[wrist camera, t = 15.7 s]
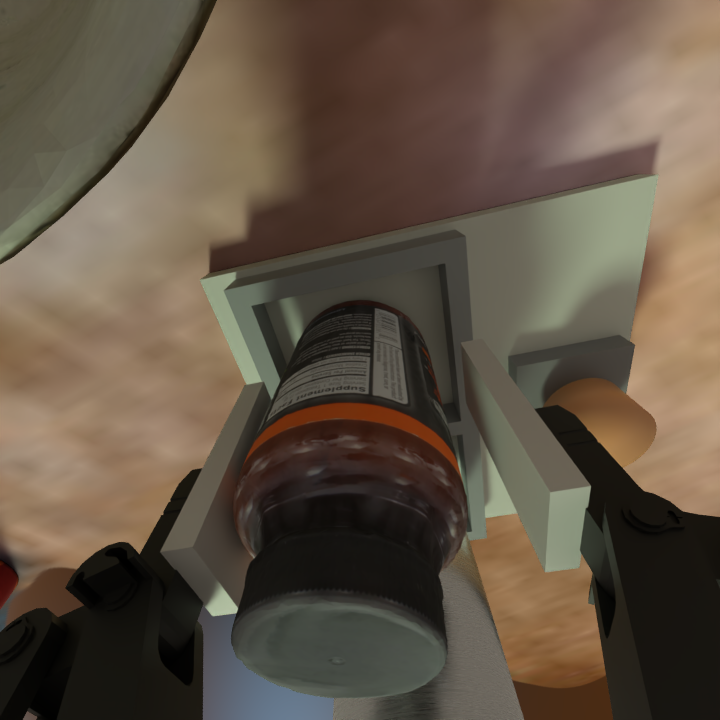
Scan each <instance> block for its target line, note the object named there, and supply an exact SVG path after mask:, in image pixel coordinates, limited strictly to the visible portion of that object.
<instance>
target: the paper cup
mask: <svg viewBox="0 0 720 720" xmlns="http://www.w3.org/2000/svg"><path fill="white" fill-rule="evenodd" d="M17 584H18V576H17V574H16V573H15V571H14V570H13V569H12V568H11V567H10V566H8V565H7V564H6V563H4V562H3V561H1V560H0V609H1V608H2V606H3V605H4V603H5V602H6V601H7V599H8V598H9V596H10V595H11V593H12V592H13V590H14V589H15V587H16V586H17Z"/></svg>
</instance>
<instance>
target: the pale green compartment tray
mask: <svg viewBox="0 0 720 720" xmlns="http://www.w3.org/2000/svg"><path fill="white" fill-rule="evenodd" d="M657 180H658V175H657V174H637V175H633V176H629V177H624V178H620V179H616V180H611V181H607V182H603V183H598V184H594V185H590V186H585V187H581V188H577V189H572V190H568V191H564V192H559V193H555V194H551V195H546V196H542V197H538V198H533V199H529V200H525V201H520V202H516V203H512V204H507V205H503V206H499V207H494V208H490V209H486V210H481V211H477V212H473V213H468V214H464V215H460V216H455V217H451V218H447V219H442V220H438V221H434V222H429V223H425V224H421V225H416V226H412V227H408V228H404V229H399V230H395V231H391V232H386V233H382V234H378V235H373V236H369V237H365V238H360V239H356V240H352V241H347V242H343V243H339V244H334V245H330V246H326V247H321V248H317V249H313V250H308V251H304V252H300V253H295V254H291V255H287V256H282V257H278V258H274V259H269V260H265V261H261V262H256V263H252V264H248V265H243V266H239V267H235V268H230V269H226V270H222V271H217V272H213V273H209V274H207V275H206V276H205V277H203V278H202V279H200V282H201V284H202V286H203V288H204V291H205V293H206V295H207V297H208V299H209V302H210V304H211V306H212V308H213V311H214V313H215V315H216V317H217V320H218V322H219V324H220V326H221V328H222V331H223V333H224V335H225V337H226V340H227V342H228V344H229V346H230V349H231V351H232V353H233V355H234V357H235V360H236V362H237V364H238V366H239V369H240V371H241V373H242V375H243V377H244V380H245V382H246V384H247V385H248V384H253V383H258V382H263V381H264V383H265V385H266V388H267V390H268V393H269V395H270V397H271V400H272V398H273V396H274V394H275V391H276V389H277V387H278V385H279V383H280V381H281V378H282V376H283V374H284V371H285V369H286V367H287V365H288V362H289V360H290V358H291V356H292V354H293V352H294V349H295V347H296V345H297V342H298V340H299V339H300V337H301V336H302V334H303V332H304V330H305V329H306V327H307V326H308V324H309V323H310V322H311V320H312V319H314V318H315V317H316V316H317V315H318V314H319V313H321V312H323V311H324V310H326V309H327V308H330V307H331V306H333V305H336V304H339V303H343V302H346V301H354V300H370V301H375V302H380V303H383V304H386V305H388V306H391V307H393V308H395V309H397V310H399V311H401V312H402V313H403V314H405V315H406V316H408V317H409V318H410V319H411V321H412V322H413V323H414V324H415V325H416V327H417V328H418V329H419V331H420V333H421V334H422V336H423V339H424V341H425V344H426V346H427V348H428V351H429V354H430V357H431V362H432V367H433V370H434V374H435V377H436V381H437V386H438V390H439V393H440V397H441V402H442V405H443V409H444V412H445V414H446V419H447V422H448V426H449V429H450V435H451V437H452V441H453V446H454V448H455V452H456V457H457V461H458V466H459V470H460V474H461V477H462V481H463V485H464V489H465V493H466V496H467V506H468V520H467V530H466V531H467V534H468V537H469V540H476V539H483V538H487V535H486V520H485V518H488V517H495V516H501V515H508V514H515V513H517V511H516V509H515V507H514V505H513V503H512V501H511V498H510V496H509V494H508V492H507V490H506V488H505V486H504V483H503V481H502V479H501V477H500V475H499V473H498V471H497V468H496V466H495V464H494V462H493V460H492V458H491V456H490V453H489V451H488V449H487V447H486V445H485V443H484V441H483V439H482V436H481V434H480V432H479V430H478V428H477V426H476V424H475V421H474V419H473V417H472V415H471V413H470V411H469V409H468V406H467V404H466V398H465V386H464V375H463V364H462V352H461V342H466V341H471V340H476V339H483V340H484V342H485V343H486V344H487V346H488V347H489V349H490V350H491V351H492V353H493V354H494V355H495V357H496V358H497V359H498V361H499V362H500V363H501V365H502V366H503V367H504V369H505V370H506V372H507V373H508V374H509V376H510V377H511V378H512V380H513V381H514V382H515V384H516V385H517V386H518V388H519V389H520V391H521V392H522V393H523V395H524V396H525V397H526V399H527V400H528V401H529V403H530V404H531V405H532V407H533V408H534V409H536V408H542V407H543V406H544V404H545V402H546V401H547V400H548V398H549V397H550V396H551V395H552V394H553V393H555V392H556V391H557V390H558V389H560V388H561V387H563V386H565V385H567V384H569V383H571V382H574V381H577V380H581V379H586V378H601V379H605V380H608V381H610V382H612V383H614V384H615V385H616V386H617V387H618V388H620V389H621V390H622V391H623V392H624V393H626V391H627V386H628V380H629V375H630V369H631V364H632V358H633V353H634V347H635V344H633V343H632V342H630V337H631V331H632V325H633V319H634V313H635V308H636V302H637V296H638V290H639V284H640V279H641V273H642V267H643V261H644V255H645V250H646V244H647V238H648V232H649V226H650V221H651V215H652V209H653V203H654V197H655V192H656V186H657Z"/></svg>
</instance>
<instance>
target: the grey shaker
mask: <svg viewBox="0 0 720 720" xmlns="http://www.w3.org/2000/svg"><path fill="white" fill-rule="evenodd" d="M439 578H440V581H441V585H442V589H443V596H444V597H443V601H442V603H443V610H444V620H445V628H446V636H447V644H448V655H447V659H446V663H445V665H444V667H443V668H442V670H441V671H440V673H439V674H438V675H437V676H436V677H434V678H433V679H432V680H430V681H429V682H428V683H427V684H425V685H423V686H421V687H419V688H417V689H415V690H413V691H410V692H407V693H403V694H398V695H391V696H385V697H373V698H334V713H333V720H524V718H523V715H522V712H521V708H520V705H519V702H518V698H517V695H516V692H515V689H514V685H513V682H512V679H511V675H510V672H509V669H508V666H507V662H506V659H505V656H504V652H503V649H502V646H501V643H500V639H499V636H498V633H497V629H496V626H495V623H494V620H493V616H492V613H491V610H490V606H489V603H488V600H487V597H486V593H485V590H484V587H483V583H482V580H481V577H480V574H479V570H478V567H477V564H476V560H475V557H474V554H473V551H472V547H471V544H470V541H469V537H468V534H467V531H466V535H465V537H464V540H463V542H462V545H461V548H460V549H459V551H458V553H457V554H456V556H455V558H454V560H453V561H451V562H450V564H449V565H448V566H447V568H446V569H444V570H443V571H442V572H440V574H439Z"/></svg>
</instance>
